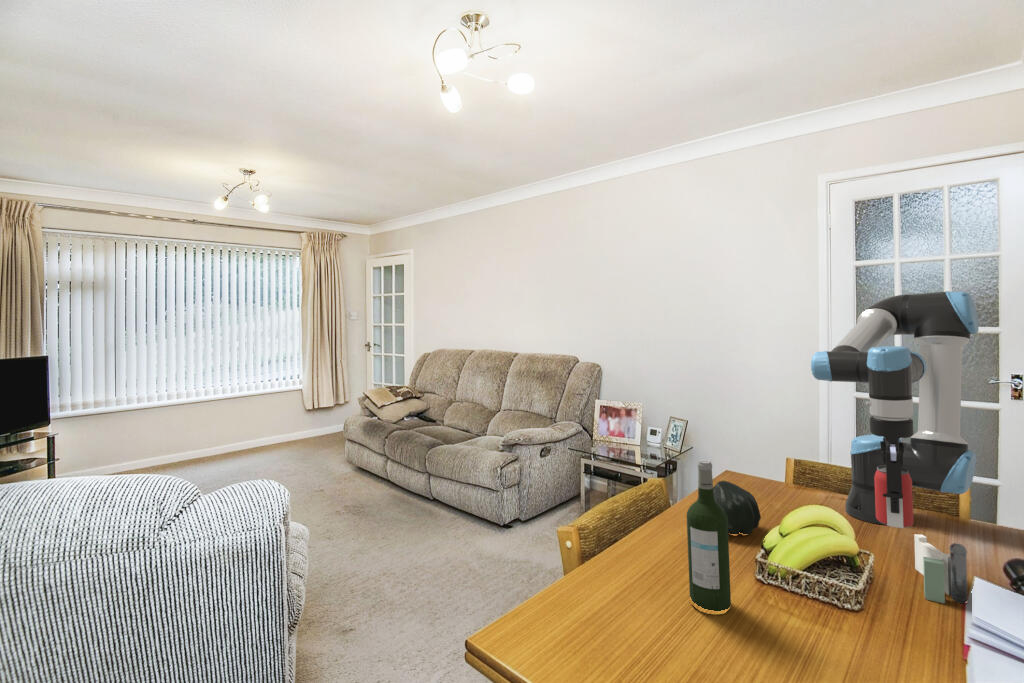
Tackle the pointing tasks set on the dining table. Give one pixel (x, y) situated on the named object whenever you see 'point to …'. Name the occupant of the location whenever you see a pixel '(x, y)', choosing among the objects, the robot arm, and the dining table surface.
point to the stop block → (934, 579)
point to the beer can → (882, 489)
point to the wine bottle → (708, 546)
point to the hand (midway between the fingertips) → (894, 520)
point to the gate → (931, 552)
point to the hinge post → (958, 572)
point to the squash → (737, 507)
